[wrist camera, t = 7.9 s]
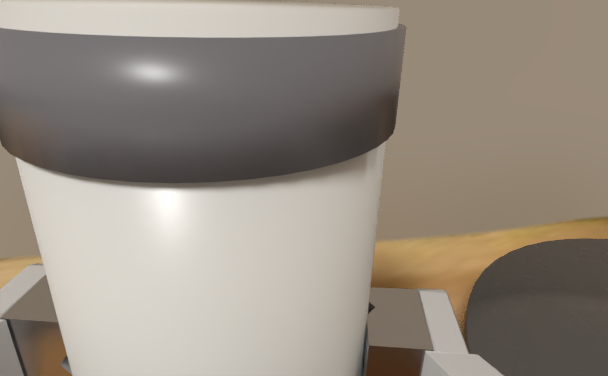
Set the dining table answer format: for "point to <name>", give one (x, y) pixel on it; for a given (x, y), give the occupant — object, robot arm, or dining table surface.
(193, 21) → the white lidded container
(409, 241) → the dining table surface
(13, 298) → the robot arm
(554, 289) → the base
